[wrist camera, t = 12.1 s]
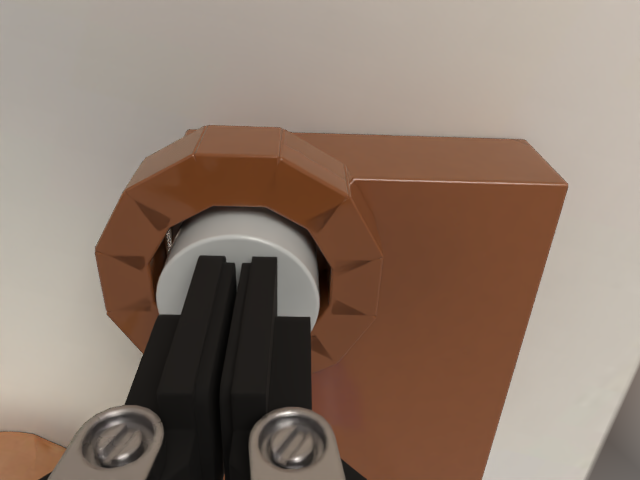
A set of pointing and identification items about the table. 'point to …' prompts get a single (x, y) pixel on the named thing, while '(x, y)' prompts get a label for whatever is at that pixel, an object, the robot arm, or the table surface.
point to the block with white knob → (370, 273)
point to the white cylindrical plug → (244, 256)
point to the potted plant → (27, 456)
